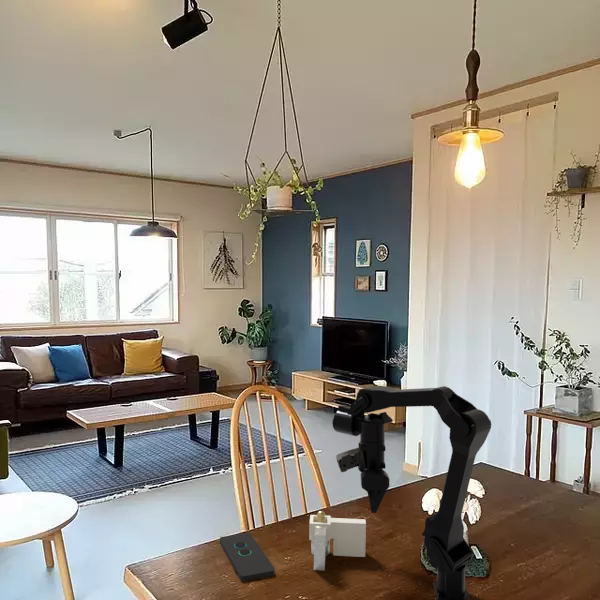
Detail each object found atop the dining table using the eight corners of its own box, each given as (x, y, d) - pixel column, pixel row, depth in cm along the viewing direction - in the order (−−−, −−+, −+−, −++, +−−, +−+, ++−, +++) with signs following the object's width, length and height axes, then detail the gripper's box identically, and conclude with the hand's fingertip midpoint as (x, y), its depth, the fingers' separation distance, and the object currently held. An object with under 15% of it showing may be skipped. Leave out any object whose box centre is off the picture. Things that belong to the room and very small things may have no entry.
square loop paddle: (365, 559, 130) (366, 526, 130) (308, 556, 131) (309, 523, 131) (364, 549, 135) (365, 517, 135) (309, 546, 136) (310, 514, 136)
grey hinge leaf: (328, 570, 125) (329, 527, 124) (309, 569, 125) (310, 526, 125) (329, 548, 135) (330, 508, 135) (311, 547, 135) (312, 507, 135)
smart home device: (250, 531, 141) (276, 569, 122) (250, 538, 141) (276, 577, 122) (218, 536, 138) (240, 576, 119) (218, 543, 138) (240, 584, 119)
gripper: (337, 429, 140) (337, 490, 141) (339, 450, 122) (338, 520, 122) (381, 430, 140) (381, 491, 140) (389, 450, 121) (389, 521, 121)
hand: (372, 505), depth 131 cm, fingers open, 9 cm apart
